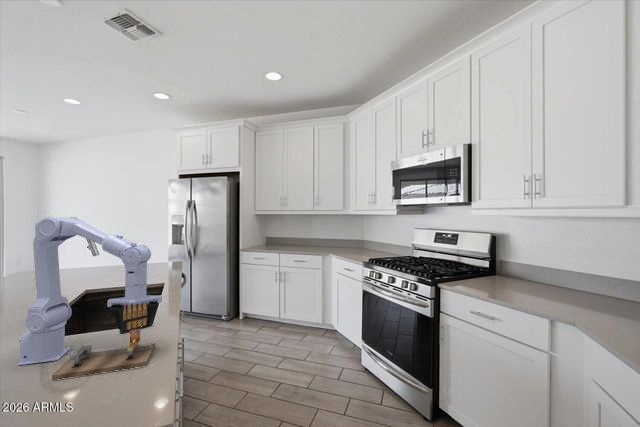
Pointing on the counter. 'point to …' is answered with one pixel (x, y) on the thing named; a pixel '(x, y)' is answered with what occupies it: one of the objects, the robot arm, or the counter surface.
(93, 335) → the counter surface
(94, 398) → the counter surface
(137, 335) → the sliding leg
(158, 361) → the counter surface
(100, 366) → the hole plate
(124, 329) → the ammunition clip
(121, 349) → the steel beam
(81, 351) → the fixed leg
